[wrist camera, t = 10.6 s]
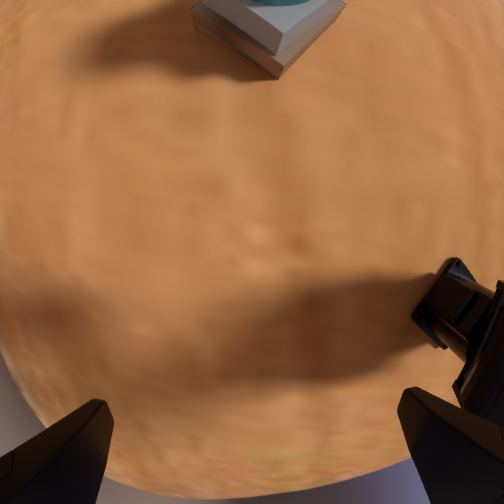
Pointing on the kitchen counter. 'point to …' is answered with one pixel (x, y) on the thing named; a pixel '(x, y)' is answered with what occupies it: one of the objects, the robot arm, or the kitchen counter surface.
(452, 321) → the robot arm
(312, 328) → the kitchen counter surface
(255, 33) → the tower top
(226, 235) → the kitchen counter surface
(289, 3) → the teal domed cylinder
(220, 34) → the tower base
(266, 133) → the kitchen counter surface
